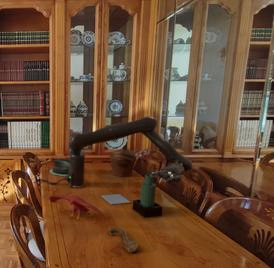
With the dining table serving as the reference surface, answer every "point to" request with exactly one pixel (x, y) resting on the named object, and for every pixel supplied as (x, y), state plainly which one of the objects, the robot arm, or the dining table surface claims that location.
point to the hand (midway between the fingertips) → (158, 179)
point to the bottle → (148, 192)
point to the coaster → (115, 199)
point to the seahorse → (125, 240)
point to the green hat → (60, 167)
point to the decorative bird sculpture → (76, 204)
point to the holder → (147, 209)
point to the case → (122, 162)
